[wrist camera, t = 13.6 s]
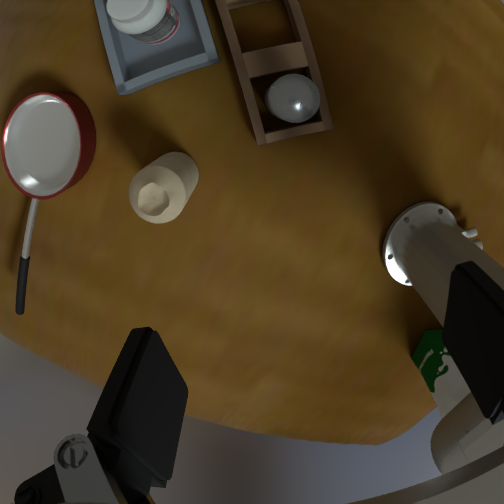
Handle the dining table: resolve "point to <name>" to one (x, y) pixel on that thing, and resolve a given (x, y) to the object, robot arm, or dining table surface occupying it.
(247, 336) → the dining table surface
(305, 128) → the socket rack
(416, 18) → the dining table surface
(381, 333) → the dining table surface
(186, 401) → the robot arm
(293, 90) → the peg
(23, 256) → the frying pan
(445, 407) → the milk carton
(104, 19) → the tray
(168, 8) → the pill bottle
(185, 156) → the candle
